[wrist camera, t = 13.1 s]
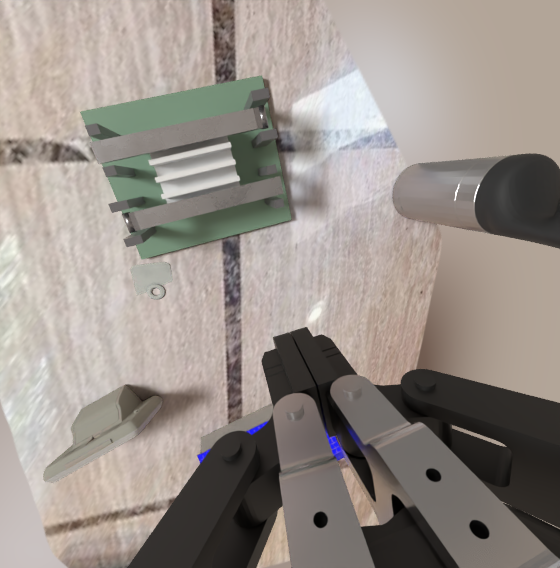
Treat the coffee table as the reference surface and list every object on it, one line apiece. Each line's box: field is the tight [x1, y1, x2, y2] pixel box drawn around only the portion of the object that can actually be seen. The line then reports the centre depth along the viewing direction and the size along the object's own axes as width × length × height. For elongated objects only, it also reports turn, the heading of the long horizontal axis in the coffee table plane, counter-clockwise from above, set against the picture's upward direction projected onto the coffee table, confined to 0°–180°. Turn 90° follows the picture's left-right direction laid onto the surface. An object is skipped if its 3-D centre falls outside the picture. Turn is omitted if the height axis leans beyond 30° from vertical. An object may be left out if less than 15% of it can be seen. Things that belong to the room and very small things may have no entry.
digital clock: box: [43, 385, 163, 483], centre depth 48 cm, size 16×9×11 cm, turn 105°
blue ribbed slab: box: [197, 403, 344, 463], centre depth 59 cm, size 19×25×10 cm
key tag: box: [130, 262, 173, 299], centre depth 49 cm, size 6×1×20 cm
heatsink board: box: [80, 76, 292, 259], centre depth 39 cm, size 24×20×10 cm
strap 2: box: [122, 176, 284, 233], centre depth 37 cm, size 20×2×1 cm, turn 102°
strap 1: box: [90, 105, 269, 164], centre depth 34 cm, size 20×2×1 cm, turn 102°
